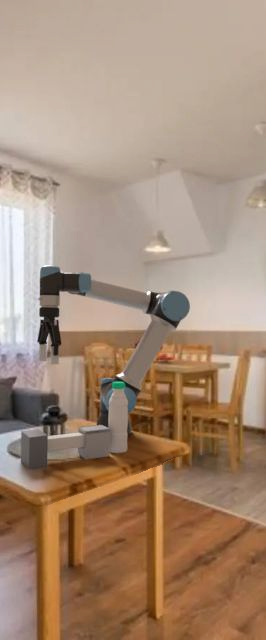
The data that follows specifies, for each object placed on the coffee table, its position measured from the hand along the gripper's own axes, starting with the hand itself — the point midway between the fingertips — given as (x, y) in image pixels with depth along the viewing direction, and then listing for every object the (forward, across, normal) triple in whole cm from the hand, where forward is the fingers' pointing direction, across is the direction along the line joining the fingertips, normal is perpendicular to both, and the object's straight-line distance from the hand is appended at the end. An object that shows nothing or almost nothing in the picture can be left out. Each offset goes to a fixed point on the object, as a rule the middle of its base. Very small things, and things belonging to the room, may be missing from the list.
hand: (48, 362), depth 177 cm
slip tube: (+27, +22, -2) cm, 35 cm away
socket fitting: (+31, +22, -12) cm, 40 cm away
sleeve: (+31, +22, +9) cm, 39 cm away
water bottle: (+31, +21, +19) cm, 42 cm away
